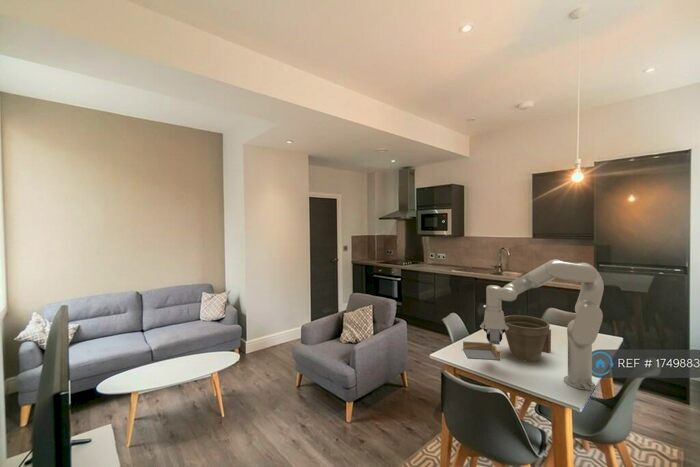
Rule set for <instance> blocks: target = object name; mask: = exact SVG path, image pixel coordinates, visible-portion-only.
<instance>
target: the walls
mask: <svg viewBox="0 0 700 467" xmlns="http://www.w3.org/2000/svg"><path fill="white" fill-rule="evenodd" d="M462 348H463V349H462V350H463V351H464V349H473V350H491V351H492V352H493V353H494V354H495V356H496V357H497V359H498V360H497V361H500V360H501V351H500V350H499V348H498V347H497V346H496V344H490V343H489V342H483V341H482V342H481V341H465V340H463V341H462ZM499 359H500V360H499Z"/></svg>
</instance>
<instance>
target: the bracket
mask: <svg viewBox="0 0 700 467" xmlns="http://www.w3.org/2000/svg"><path fill="white" fill-rule="evenodd" d="M489 333H490V341H488V339H487V338H486V340H487V343H490V344H494V345H498V346H499V345H500V344H501V342H500V330H496V329H490V332H489Z"/></svg>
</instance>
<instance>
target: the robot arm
mask: <svg viewBox="0 0 700 467" xmlns="http://www.w3.org/2000/svg"><path fill="white" fill-rule="evenodd" d="M555 279H559V280H565V281H570V282H577V283H581V287H580V292H579V295H578V298H577V301H576V302H575V307H574V311H575V318H574V319H572V320H570V321H569V322H568V324H567V326H566V327H567V328H566V331H567V332H566V333H567V335H566V336H567V375H565V376H564V377H563V381H564V382H565V384H567V385H569V386H571V387H573V388H575V389H578V390H581V391H582V390H585V391H594V390H596V387H597V385H596V383H595V382H594V381H593V373H592V372H593V371H592V370H593V358H592V357H593V344H594V343H595V342H596V340H597V337H598V335H599V331H600V328H601V326H602V323H603V317H604V314H603V311H602V309H601V308H600V306H601V302H602V298H603V294H604V290H605V289H604V287H605V285H604V280H603V278H602V276H601V274H600V272H599V271H598V270H597V269H596V268H595V267H594V266H593V265H592V264H590V263H587V262H578V263H573V262H568V261H563V260H561V259H556V258H555V259H550V260H549V261H546V262H545V263H543V264H541V265H539V266H538V267H536V268H534V269H532V270H531V271H529V272H527V273H525V274H524V275H522V276H520V277H517V278H516V279H514V280H512V281H511V282H509V283H506V284H505V285H504V286H502V287H501V286H499V285H497V284H496V285H494V284H490V285H487V286H486V292H485V293H486V294H485V295H486V304H484V305H483V309H485V310H484V315H483V316H484V318H483V322H481V324H480V325H479V327H480V328H481V329H482V330H483V331H484V332H485V333H486V340H487V339H488V340H487V342H488V341H490V333H489V332H490V329H496V330H500V343H501V342H502V340H503V335H504V334H505V331H506V330H508V329H509V328H508V326H507V325H506V324H505V319H504V317H505V313H504V311H503V310H502V309H503V308H502V307H503V306H502V301H505V302H514V301H515V300H517V297H518V295H520V294H522V293H525V292H526V291H528V290H531V289H536V288H540V287H542V286H544V285H545V284H547V283H549V282H551V281H553V280H555Z"/></svg>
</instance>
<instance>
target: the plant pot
mask: <svg viewBox="0 0 700 467" xmlns="http://www.w3.org/2000/svg"><path fill="white" fill-rule="evenodd" d="M504 319H505V324H506V325H507V326H508V328H509V329H508V330H506V331H505V332H504V334H505V338H506V341H507V342H506V343H507V345H508V348H509V352H510V353H511V357H513V358H515V359H517V360H519V361H522V362H523V361H524V362H532V363H533V362H537V361H539V360H540V359H541V355H542V353H543V351H542V350H543V346H544V343H545V340H546V336H547V334H548V333H549V330H550V327H551V326H550V323H549V322H548V321H547V320H544V319H542V318H538V317H534V316H530V315H529V316H528V315H515V314H514V315H506V316H505V315H504Z"/></svg>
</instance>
